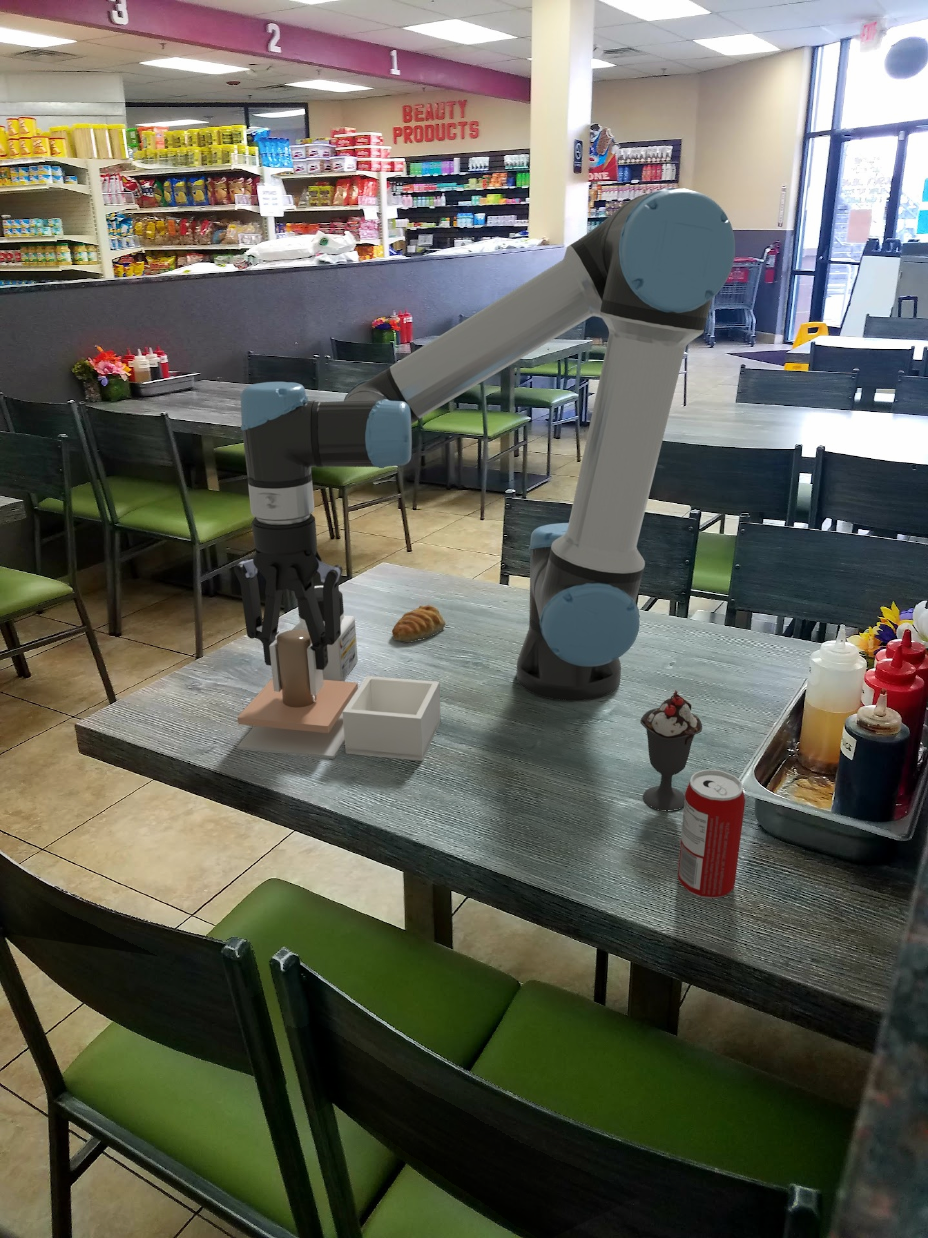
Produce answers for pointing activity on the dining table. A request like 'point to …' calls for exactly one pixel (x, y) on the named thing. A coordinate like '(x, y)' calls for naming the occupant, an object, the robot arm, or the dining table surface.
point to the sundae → (669, 748)
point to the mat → (296, 741)
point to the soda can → (711, 833)
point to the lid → (297, 693)
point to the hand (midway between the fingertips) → (298, 688)
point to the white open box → (392, 718)
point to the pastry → (418, 624)
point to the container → (344, 648)
